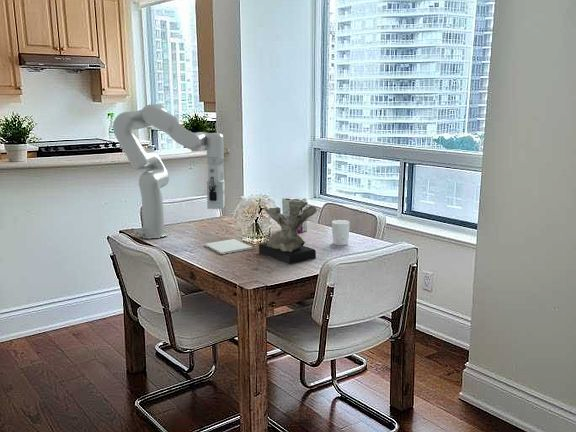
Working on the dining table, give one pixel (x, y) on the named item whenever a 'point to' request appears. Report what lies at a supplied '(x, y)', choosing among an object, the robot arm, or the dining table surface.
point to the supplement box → (220, 197)
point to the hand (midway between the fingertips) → (216, 198)
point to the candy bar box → (286, 211)
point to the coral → (289, 235)
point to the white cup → (340, 232)
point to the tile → (228, 246)
